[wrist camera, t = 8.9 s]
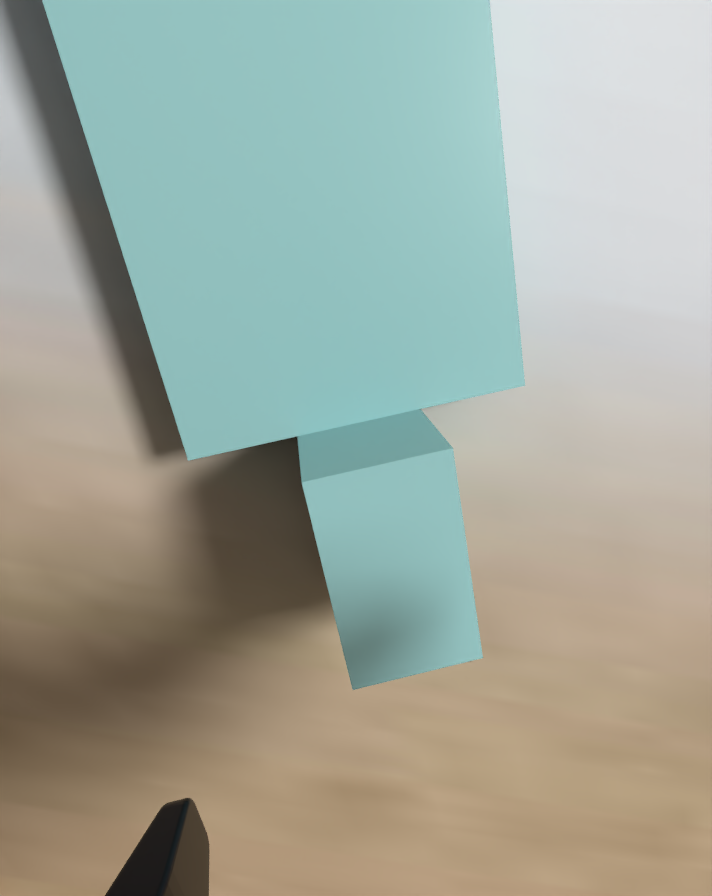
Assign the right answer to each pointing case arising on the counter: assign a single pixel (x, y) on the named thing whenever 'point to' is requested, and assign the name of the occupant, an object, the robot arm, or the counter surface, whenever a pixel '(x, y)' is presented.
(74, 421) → the counter surface
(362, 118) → the lid
